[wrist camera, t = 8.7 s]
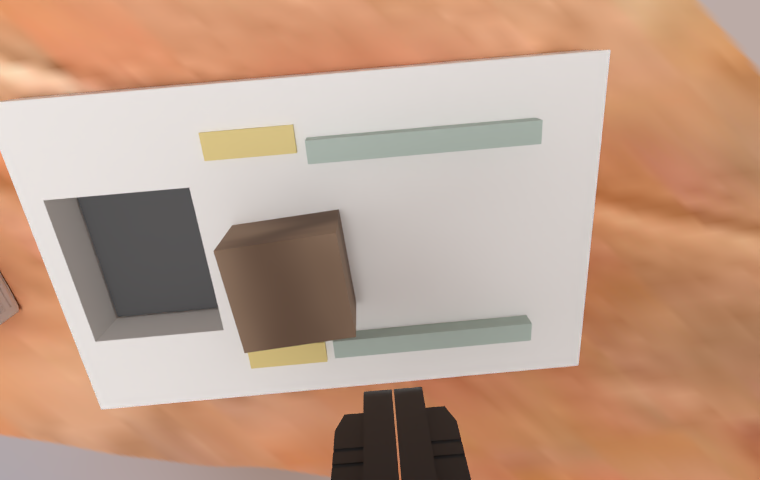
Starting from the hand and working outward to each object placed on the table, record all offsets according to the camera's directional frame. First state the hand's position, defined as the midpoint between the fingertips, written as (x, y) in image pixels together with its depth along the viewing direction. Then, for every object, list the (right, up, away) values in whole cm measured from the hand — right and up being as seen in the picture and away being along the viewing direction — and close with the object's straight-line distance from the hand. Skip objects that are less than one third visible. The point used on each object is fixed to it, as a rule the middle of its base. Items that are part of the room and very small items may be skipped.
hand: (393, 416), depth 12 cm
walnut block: (-4, +3, +10) cm, 12 cm away
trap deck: (-3, +5, +13) cm, 14 cm away
